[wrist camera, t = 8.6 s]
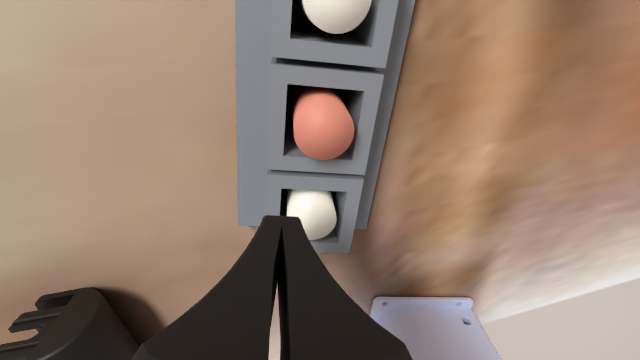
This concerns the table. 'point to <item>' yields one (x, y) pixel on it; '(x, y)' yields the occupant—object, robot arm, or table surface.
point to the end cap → (71, 330)
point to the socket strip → (320, 71)
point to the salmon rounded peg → (321, 123)
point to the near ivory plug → (335, 14)
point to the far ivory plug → (312, 211)
